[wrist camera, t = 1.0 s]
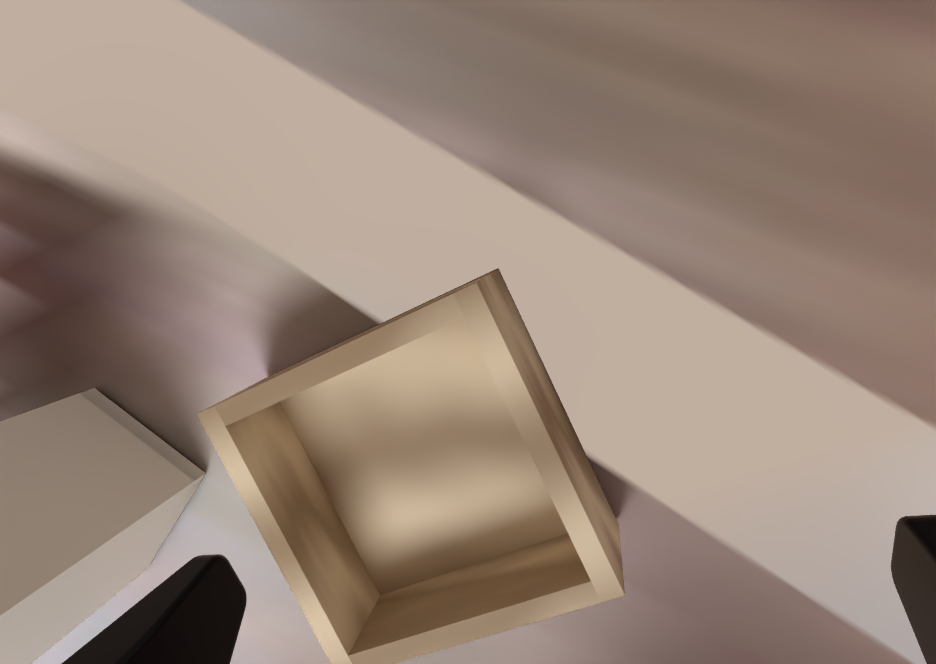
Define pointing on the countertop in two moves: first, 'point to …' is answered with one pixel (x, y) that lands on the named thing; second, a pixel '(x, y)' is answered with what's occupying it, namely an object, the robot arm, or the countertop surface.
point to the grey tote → (78, 515)
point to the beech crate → (422, 482)
